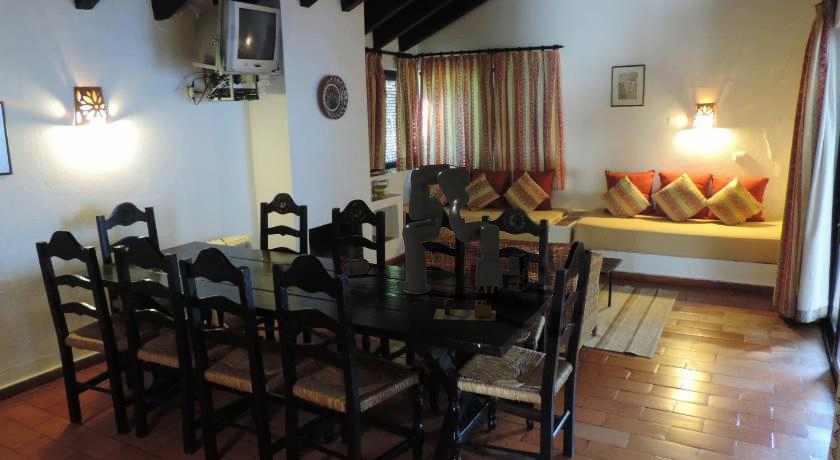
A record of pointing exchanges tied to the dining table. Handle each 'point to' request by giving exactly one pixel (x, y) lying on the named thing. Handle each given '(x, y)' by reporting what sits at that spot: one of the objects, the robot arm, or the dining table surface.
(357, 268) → the tin
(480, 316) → the collar
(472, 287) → the soda can
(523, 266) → the coffee box
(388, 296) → the dining table surface
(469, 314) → the board
